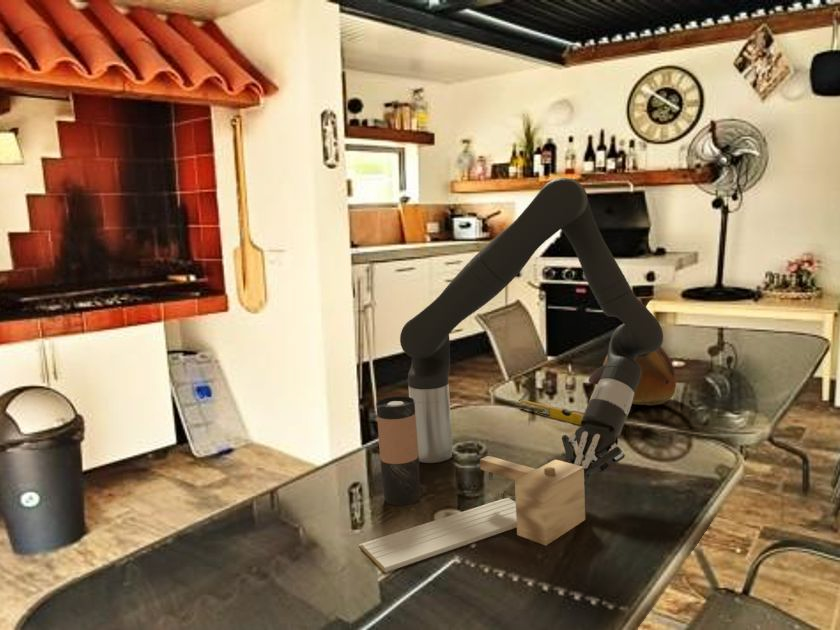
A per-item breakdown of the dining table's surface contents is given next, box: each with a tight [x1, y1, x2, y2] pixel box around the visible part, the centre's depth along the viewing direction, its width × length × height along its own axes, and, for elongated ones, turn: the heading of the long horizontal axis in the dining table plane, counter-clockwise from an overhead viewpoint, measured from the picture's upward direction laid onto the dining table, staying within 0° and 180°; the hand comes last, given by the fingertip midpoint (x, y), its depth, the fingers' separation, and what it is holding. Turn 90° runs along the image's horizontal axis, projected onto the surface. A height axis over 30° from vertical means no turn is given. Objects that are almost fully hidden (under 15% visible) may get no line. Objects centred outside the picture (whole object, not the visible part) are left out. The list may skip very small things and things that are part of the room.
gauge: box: [479, 455, 586, 546], centre depth 122 cm, size 18×12×11 cm, turn 44°
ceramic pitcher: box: [602, 296, 677, 406], centre depth 184 cm, size 20×20×30 cm
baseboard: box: [358, 491, 517, 573], centre depth 119 cm, size 31×3×12 cm
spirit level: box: [518, 398, 625, 437], centre depth 175 cm, size 33×1×3 cm, turn 38°
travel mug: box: [375, 395, 421, 507], centre depth 133 cm, size 8×8×20 cm
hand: (575, 488), depth 123 cm, fingers closed
